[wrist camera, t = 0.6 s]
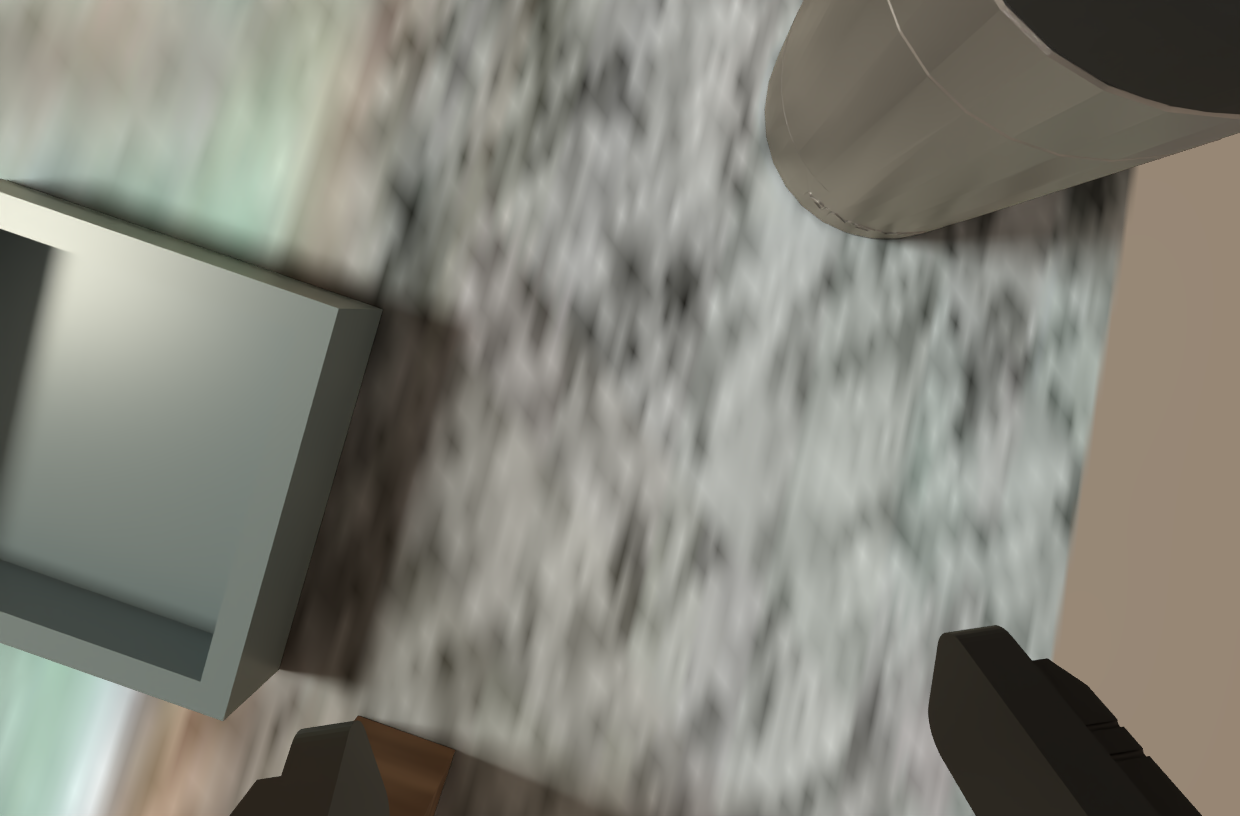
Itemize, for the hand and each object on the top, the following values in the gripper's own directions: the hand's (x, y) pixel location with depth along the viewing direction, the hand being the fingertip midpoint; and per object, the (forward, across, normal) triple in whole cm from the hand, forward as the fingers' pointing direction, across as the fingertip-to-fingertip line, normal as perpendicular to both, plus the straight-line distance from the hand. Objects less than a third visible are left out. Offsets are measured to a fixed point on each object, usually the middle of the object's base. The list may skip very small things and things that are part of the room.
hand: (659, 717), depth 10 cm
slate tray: (+22, +18, +4) cm, 29 cm away
